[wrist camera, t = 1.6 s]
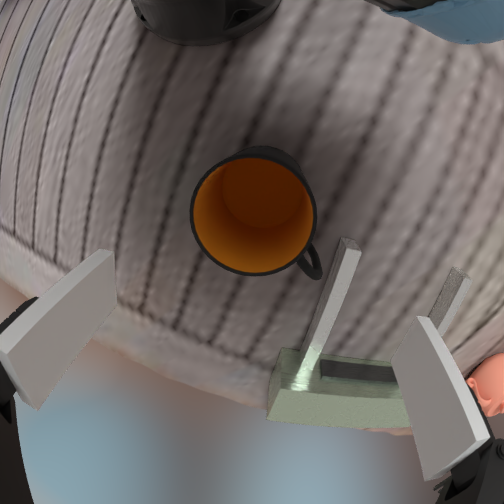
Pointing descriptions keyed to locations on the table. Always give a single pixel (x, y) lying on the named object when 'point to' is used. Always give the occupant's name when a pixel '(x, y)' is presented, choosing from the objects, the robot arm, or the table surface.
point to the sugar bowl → (489, 384)
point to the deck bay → (346, 362)
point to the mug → (256, 214)
